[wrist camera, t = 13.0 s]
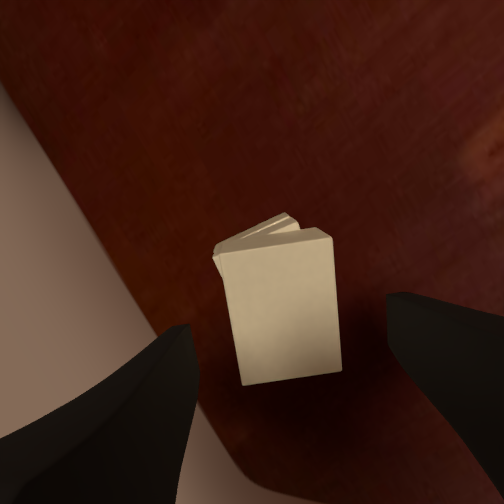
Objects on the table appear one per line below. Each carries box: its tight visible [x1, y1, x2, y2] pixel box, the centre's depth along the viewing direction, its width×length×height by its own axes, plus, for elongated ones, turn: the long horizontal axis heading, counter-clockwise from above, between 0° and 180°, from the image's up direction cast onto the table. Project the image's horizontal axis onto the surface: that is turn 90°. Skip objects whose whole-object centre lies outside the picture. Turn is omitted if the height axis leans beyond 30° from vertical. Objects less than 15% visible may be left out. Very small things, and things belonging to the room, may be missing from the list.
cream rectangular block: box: [219, 227, 342, 386], centre depth 13 cm, size 6×4×2 cm
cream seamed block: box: [213, 213, 300, 279], centre depth 15 cm, size 6×4×3 cm
